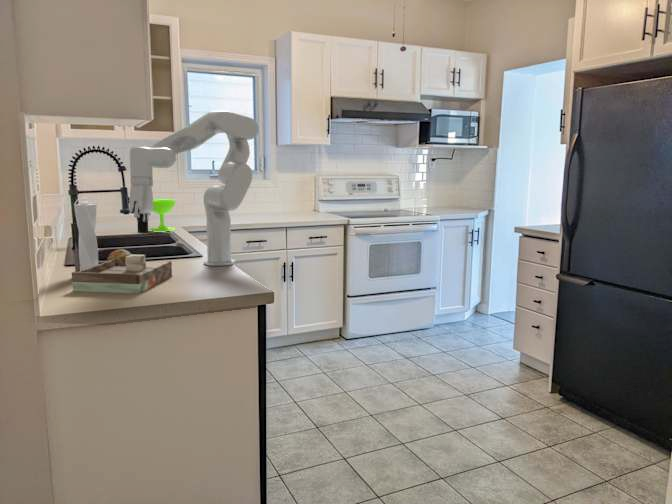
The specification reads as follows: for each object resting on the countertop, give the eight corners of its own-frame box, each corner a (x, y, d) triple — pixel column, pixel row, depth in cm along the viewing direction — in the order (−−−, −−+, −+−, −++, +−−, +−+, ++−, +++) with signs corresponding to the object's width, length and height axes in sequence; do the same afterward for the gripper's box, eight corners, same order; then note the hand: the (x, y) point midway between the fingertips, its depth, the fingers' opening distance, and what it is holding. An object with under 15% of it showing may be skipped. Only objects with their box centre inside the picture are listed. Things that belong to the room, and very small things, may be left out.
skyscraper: (77, 272, 195) (72, 196, 191) (101, 271, 198) (97, 196, 194) (75, 277, 188) (69, 198, 183) (100, 276, 190) (95, 198, 186)
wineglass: (179, 231, 311) (178, 200, 308) (151, 233, 303) (150, 201, 300) (172, 228, 325) (171, 199, 322) (145, 229, 316) (143, 199, 313)
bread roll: (134, 274, 212) (141, 255, 213) (111, 266, 204) (119, 247, 206) (122, 270, 218) (129, 252, 220) (99, 263, 211) (107, 244, 212)
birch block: (132, 268, 190) (131, 254, 190) (146, 268, 190) (145, 254, 189) (125, 270, 186) (125, 256, 185) (139, 271, 185) (138, 257, 184)
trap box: (113, 274, 194) (112, 258, 193) (172, 276, 192) (171, 259, 191) (72, 291, 169) (71, 272, 168) (139, 293, 167) (138, 274, 166)
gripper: (141, 181, 198) (142, 229, 201) (121, 182, 183) (123, 234, 186) (160, 181, 197) (161, 230, 200) (142, 182, 183) (143, 235, 186)
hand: (143, 232), depth 193 cm, fingers closed
